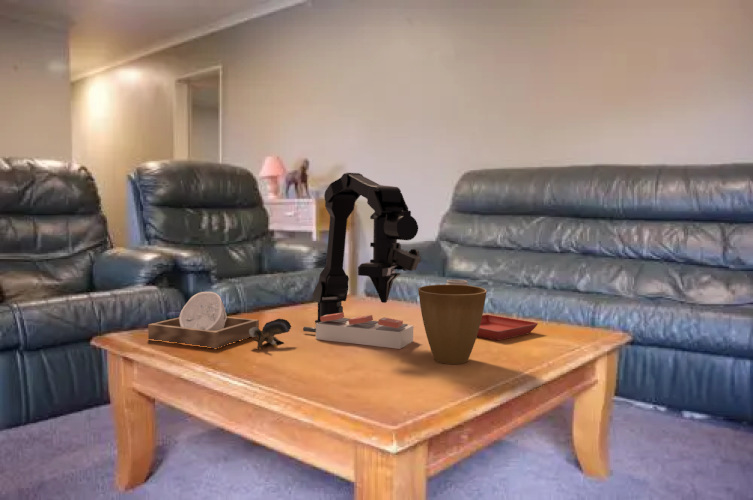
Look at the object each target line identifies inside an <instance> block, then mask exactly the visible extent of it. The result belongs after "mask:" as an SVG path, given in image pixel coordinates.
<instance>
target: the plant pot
mask: <svg viewBox="0 0 753 500" xmlns="http://www.w3.org/2000/svg"><path fill="white" fill-rule="evenodd" d="M417 290H418V291H417V292H418V299H419V305H420V312H421V317H422V322H423V327H424V331H425V334H426V338H427V342H428V345H429V348H430V351H431V353H432V357H433V358H434V361H435V362H437V363H440V364H446V365H461V364H462V365H463V364H465V363H467V362H468V360H469V358H470V356H471V354H472V351H473V349H474V346H475V343H476V340H477V337H478V336H477V334H478V331H479V327H480V323H481V319H482V315H484V308H485V303H486V297H487V292H488V290H487V289H486V288H484V287H480V286H476V285H469V284H468V285H453V284H447V283H445V284H430V285H423V286H420V287H418V288H417Z"/></svg>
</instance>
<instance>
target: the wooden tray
mask: <svg viewBox="0 0 753 500" xmlns="http://www.w3.org/2000/svg"><path fill="white" fill-rule="evenodd" d="M224 320H225V316H224ZM253 327H257V328H258V329H259V330H260V320H259V319H254V318H253V319H252V318H242V317H234V316H227V319H226V322H225V326H224V328H223V329H220V330H216V331H210V330H202V329H193V328H185V327H181V326H180V322H179V316H178V317H175V318H170V319H166V320H162V321H158V322H153V323H149V324H148V325H147V330H148V331H147V333H148V334H147V339H154V340H162V341H169V342H177V343H185V344H192V345H200V346H207V347H211V348H218V347H221V346H224V345H227V344H229V343H233V342H236V341H239V340H242V339H246V338H249V337H252V336H251V335H250V334H249V330H250V329H251V328H253ZM252 338H253V337H252ZM249 339H250V338H249ZM246 340H247V339H246ZM227 346H228V345H227ZM224 347H225V346H224ZM221 348H222V347H221ZM218 349H219V348H218Z"/></svg>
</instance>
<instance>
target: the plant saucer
mask: <svg viewBox="0 0 753 500" xmlns="http://www.w3.org/2000/svg"><path fill="white" fill-rule="evenodd" d="M538 325H539V323H538V322H537V321H536V322H535V321H528V320H522V319H517V318H511V317H506V316H505V317H504V316H498V315H494V314H493V315H492V314H483V315H482V319H481V323H480V327H479V331H478V334H477V337H479V338H484V339H488V340H492V341H501V339H502V340H505V338H506V339H510V337H511V338H515V337H514V336H516V337H519V336H518V335H520V336H524V335H523V334H525V335H528V334H527V333H529V334H530V333H531V332H532V331H533V330H534V329H536V327H537V326H538Z"/></svg>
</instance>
